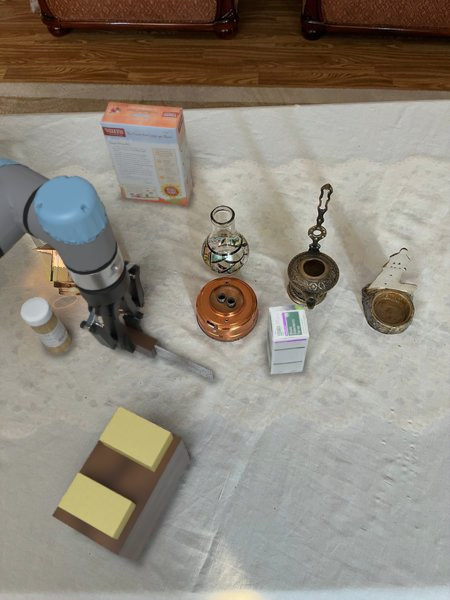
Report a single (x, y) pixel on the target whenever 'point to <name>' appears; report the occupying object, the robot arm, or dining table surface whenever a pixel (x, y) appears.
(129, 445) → the butter block
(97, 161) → the dining table surface
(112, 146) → the cracker box
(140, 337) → the knife
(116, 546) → the butter stand
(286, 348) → the syrup box
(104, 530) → the butter slice
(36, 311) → the sprinkles bottle
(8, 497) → the dining table surface
